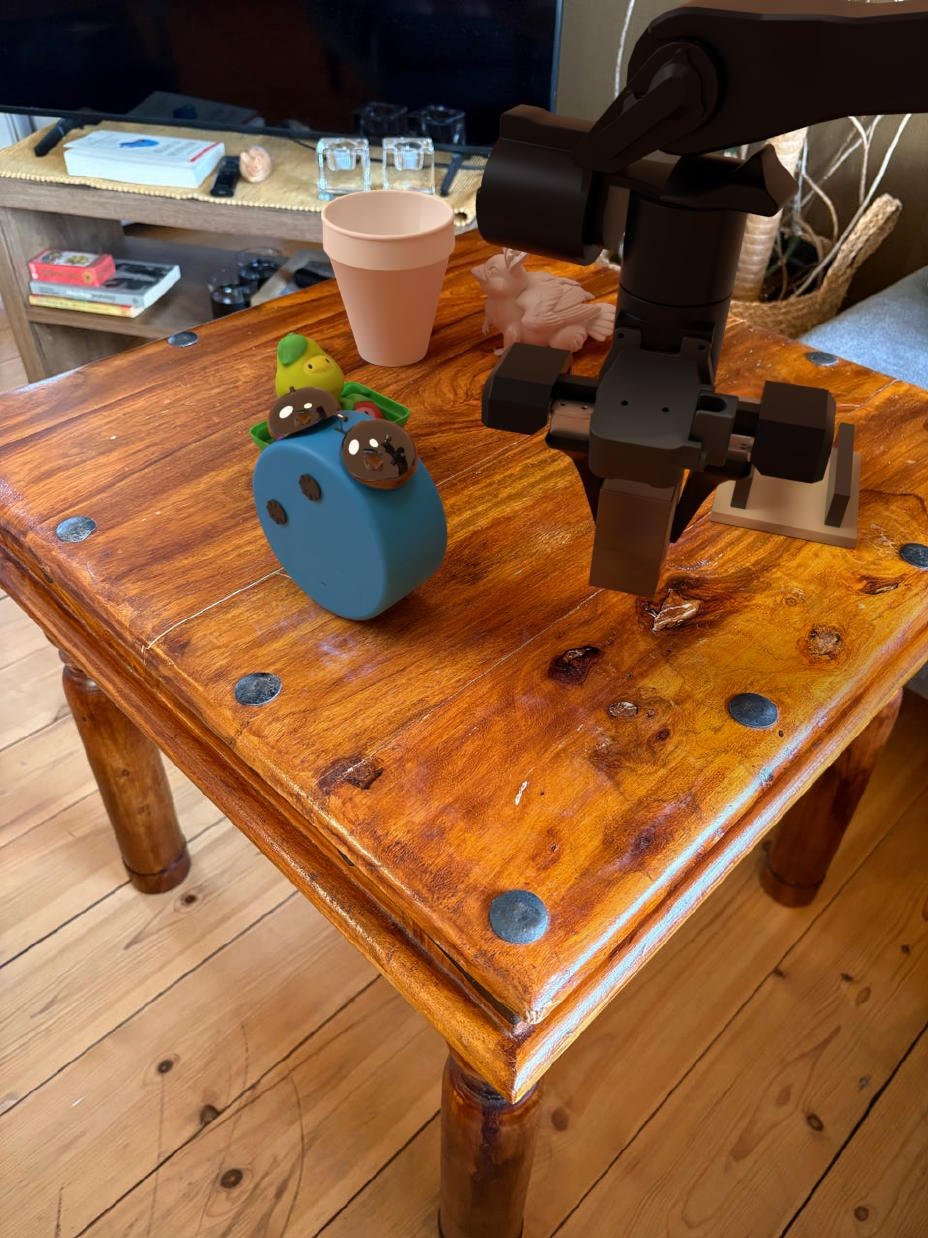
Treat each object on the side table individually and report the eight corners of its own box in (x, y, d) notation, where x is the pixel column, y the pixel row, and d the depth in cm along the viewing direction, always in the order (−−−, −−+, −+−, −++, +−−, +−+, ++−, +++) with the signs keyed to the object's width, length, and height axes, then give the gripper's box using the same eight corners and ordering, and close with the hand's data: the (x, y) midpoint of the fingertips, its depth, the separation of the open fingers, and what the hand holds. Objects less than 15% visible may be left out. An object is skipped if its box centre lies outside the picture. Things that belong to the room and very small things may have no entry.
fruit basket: (313, 521, 77) (299, 391, 70) (242, 477, 82) (222, 350, 74) (416, 464, 84) (414, 339, 76) (345, 426, 88) (337, 304, 81)
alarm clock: (450, 612, 70) (452, 424, 60) (389, 657, 66) (380, 466, 56) (322, 537, 76) (304, 356, 66) (260, 575, 72) (231, 390, 62)
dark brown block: (673, 533, 64) (691, 438, 59) (656, 600, 59) (674, 502, 54) (610, 521, 65) (623, 427, 60) (587, 586, 60) (600, 489, 55)
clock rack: (858, 462, 85) (871, 421, 82) (853, 549, 76) (868, 506, 73) (729, 439, 88) (738, 398, 85) (709, 520, 78) (718, 478, 76)
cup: (306, 360, 97) (292, 218, 88) (375, 313, 105) (369, 179, 96) (412, 392, 93) (409, 246, 84) (476, 341, 101) (479, 203, 92)
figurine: (463, 333, 102) (466, 208, 94) (604, 324, 104) (618, 201, 96) (477, 370, 96) (481, 240, 88) (626, 360, 98) (643, 232, 90)
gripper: (451, 323, 46) (450, 581, 57) (866, 385, 42) (783, 651, 53) (513, 239, 54) (502, 478, 65) (868, 284, 50) (796, 532, 61)
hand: (636, 532), depth 60 cm, fingers closed on dark brown block, 4 cm apart
